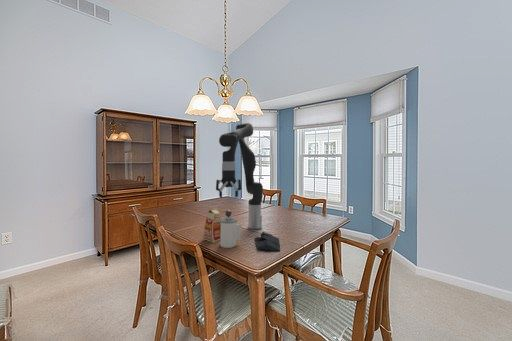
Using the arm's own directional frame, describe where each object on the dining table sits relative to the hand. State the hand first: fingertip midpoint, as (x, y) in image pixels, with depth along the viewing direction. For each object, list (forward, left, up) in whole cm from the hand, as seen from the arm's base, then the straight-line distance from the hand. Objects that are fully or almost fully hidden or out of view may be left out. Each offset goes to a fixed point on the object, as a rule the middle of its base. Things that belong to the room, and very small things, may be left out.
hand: (228, 197), depth 138 cm
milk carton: (+8, -12, -28) cm, 32 cm away
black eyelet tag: (-23, +3, -29) cm, 37 cm away
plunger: (0, 0, -24) cm, 24 cm away
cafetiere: (-1, 0, -28) cm, 28 cm away
